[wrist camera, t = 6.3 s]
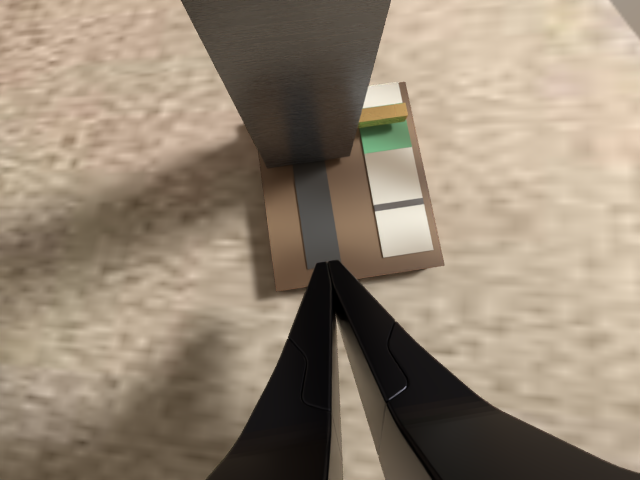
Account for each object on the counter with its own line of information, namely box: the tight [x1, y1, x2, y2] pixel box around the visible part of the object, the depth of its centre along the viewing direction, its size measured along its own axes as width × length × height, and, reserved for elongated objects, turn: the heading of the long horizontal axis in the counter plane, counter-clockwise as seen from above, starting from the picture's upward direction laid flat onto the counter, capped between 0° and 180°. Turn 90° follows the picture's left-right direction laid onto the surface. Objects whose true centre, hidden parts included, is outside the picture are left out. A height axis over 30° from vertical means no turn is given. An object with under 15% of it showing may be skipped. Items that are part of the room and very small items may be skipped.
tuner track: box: [258, 82, 445, 292], centre depth 16 cm, size 12×10×2 cm
